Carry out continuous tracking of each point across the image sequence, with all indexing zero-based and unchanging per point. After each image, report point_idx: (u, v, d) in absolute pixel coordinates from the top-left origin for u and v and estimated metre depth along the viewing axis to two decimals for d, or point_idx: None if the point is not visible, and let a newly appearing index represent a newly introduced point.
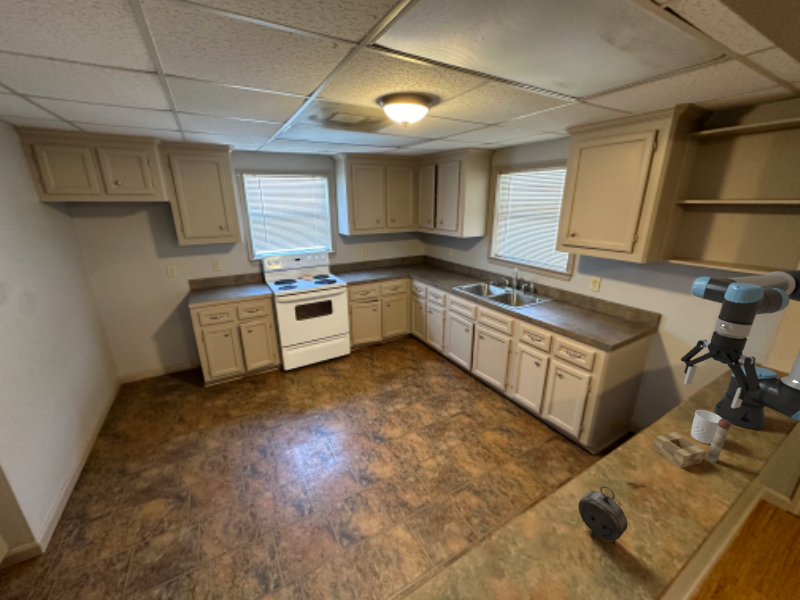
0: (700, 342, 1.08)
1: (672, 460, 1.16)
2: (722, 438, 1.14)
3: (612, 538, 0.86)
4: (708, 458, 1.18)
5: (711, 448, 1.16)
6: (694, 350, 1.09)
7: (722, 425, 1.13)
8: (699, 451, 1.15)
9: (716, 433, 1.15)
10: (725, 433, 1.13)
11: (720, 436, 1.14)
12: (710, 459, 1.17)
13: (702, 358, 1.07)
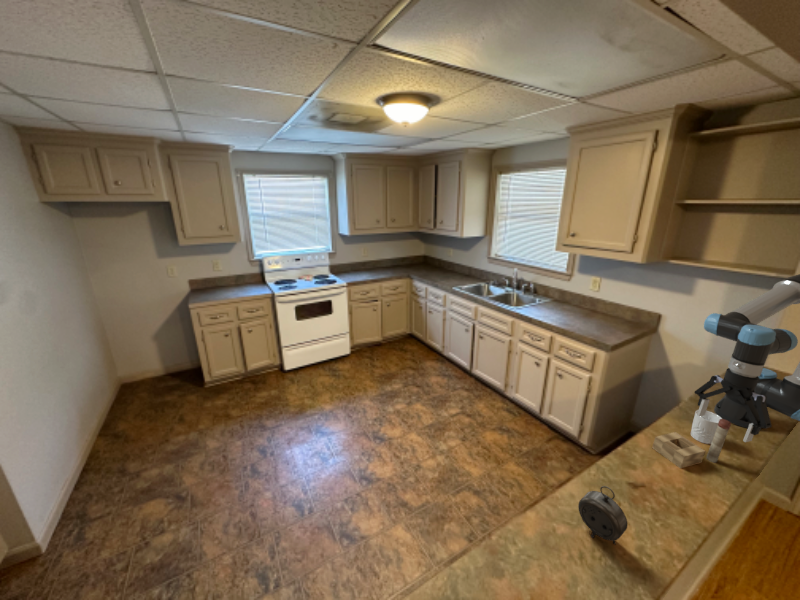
0: (714, 377, 1.14)
1: (672, 460, 1.16)
2: (722, 438, 1.14)
3: (612, 538, 0.86)
4: (708, 458, 1.18)
5: (711, 448, 1.16)
6: (708, 384, 1.16)
7: (722, 425, 1.13)
8: (699, 451, 1.15)
9: (716, 433, 1.15)
10: (725, 433, 1.13)
11: (720, 436, 1.14)
12: (710, 459, 1.17)
13: (715, 393, 1.14)
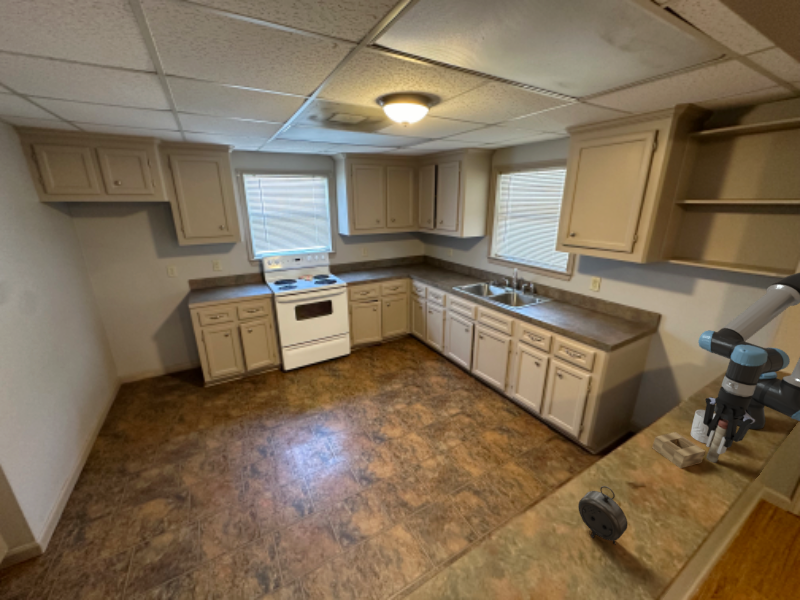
0: (707, 399, 1.17)
1: (672, 460, 1.16)
2: None
3: (612, 538, 0.86)
4: (708, 458, 1.18)
5: (711, 448, 1.16)
6: (708, 409, 1.17)
7: (722, 425, 1.13)
8: (699, 451, 1.15)
9: (716, 433, 1.15)
10: (725, 433, 1.13)
11: (720, 436, 1.14)
12: (710, 459, 1.17)
13: (717, 417, 1.14)
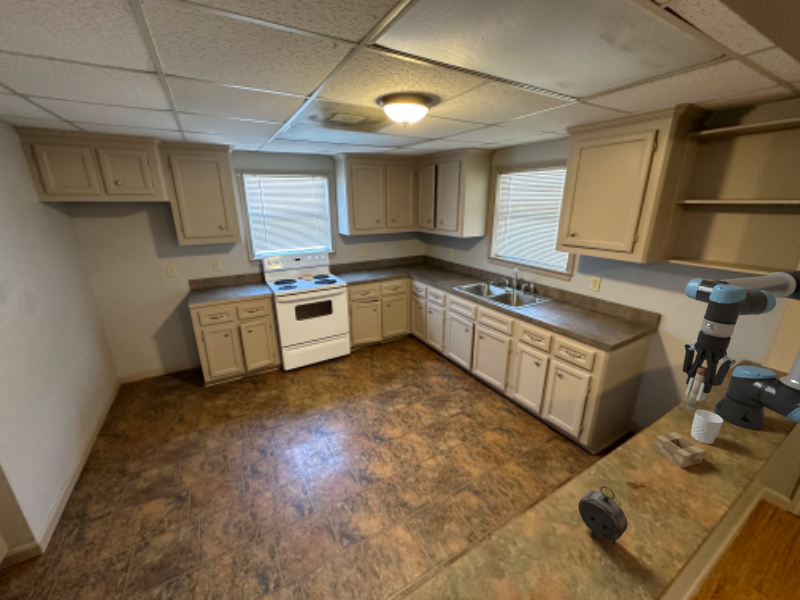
0: (687, 346, 1.13)
1: (672, 460, 1.16)
2: None
3: (612, 538, 0.86)
4: (687, 408, 1.14)
5: (690, 397, 1.13)
6: (687, 356, 1.13)
7: (700, 372, 1.09)
8: (699, 451, 1.15)
9: (695, 381, 1.11)
10: (704, 380, 1.09)
11: (698, 383, 1.10)
12: (689, 409, 1.13)
13: (696, 362, 1.10)
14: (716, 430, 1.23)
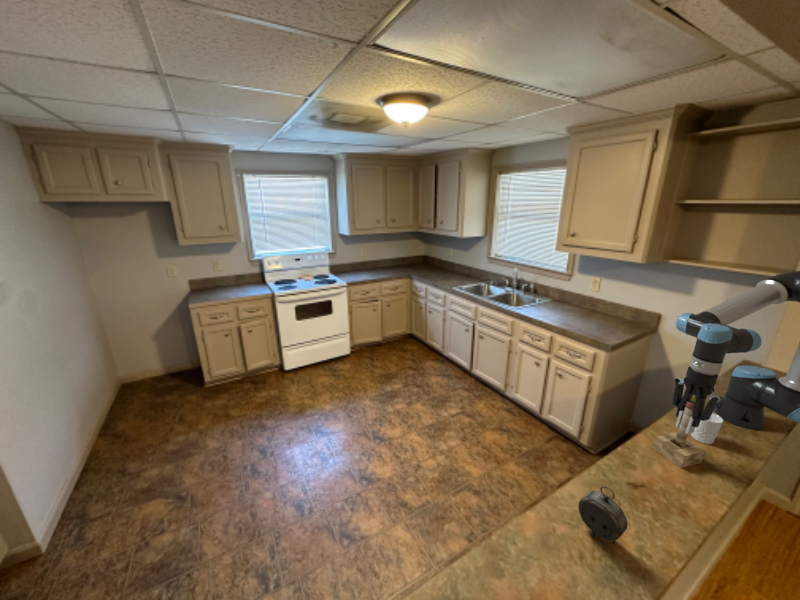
0: (676, 380, 1.17)
1: (672, 460, 1.16)
2: (689, 419, 1.14)
3: (612, 538, 0.86)
4: (676, 440, 1.18)
5: (679, 430, 1.17)
6: (677, 389, 1.17)
7: (689, 406, 1.13)
8: (699, 451, 1.15)
9: (684, 414, 1.15)
10: (693, 414, 1.13)
11: (687, 417, 1.14)
12: (678, 441, 1.17)
13: (685, 397, 1.14)
14: (716, 430, 1.23)
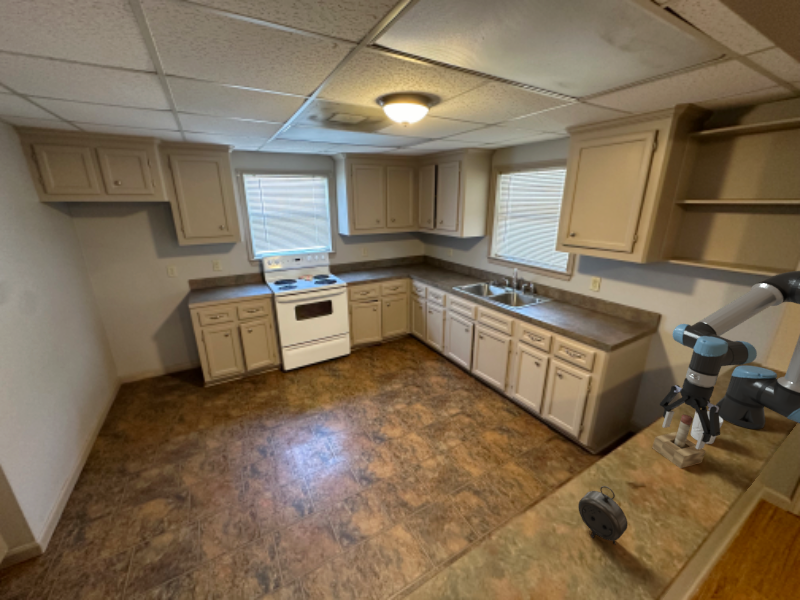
0: (673, 388, 1.18)
1: (672, 460, 1.16)
2: (685, 433, 1.16)
3: (612, 538, 0.86)
4: None
5: (675, 443, 1.18)
6: (669, 395, 1.19)
7: (684, 420, 1.15)
8: (699, 451, 1.15)
9: (679, 428, 1.17)
10: (688, 428, 1.15)
11: (683, 431, 1.16)
12: None
13: (677, 403, 1.17)
14: None
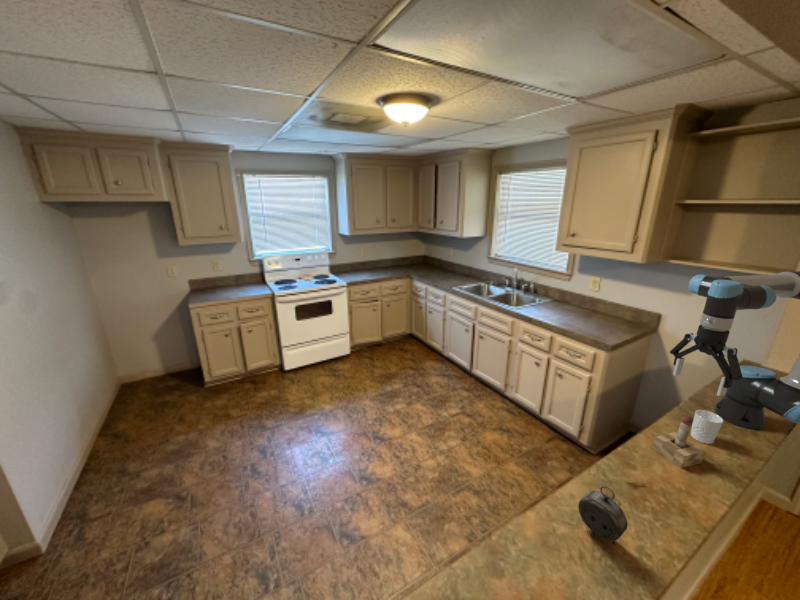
0: (687, 335, 1.15)
1: (672, 460, 1.16)
2: (685, 434, 1.15)
3: (612, 538, 0.86)
4: None
5: (675, 444, 1.18)
6: (682, 343, 1.17)
7: (685, 421, 1.15)
8: (699, 451, 1.15)
9: (680, 429, 1.17)
10: (688, 429, 1.15)
11: (683, 431, 1.16)
12: None
13: (689, 350, 1.15)
14: (716, 430, 1.23)
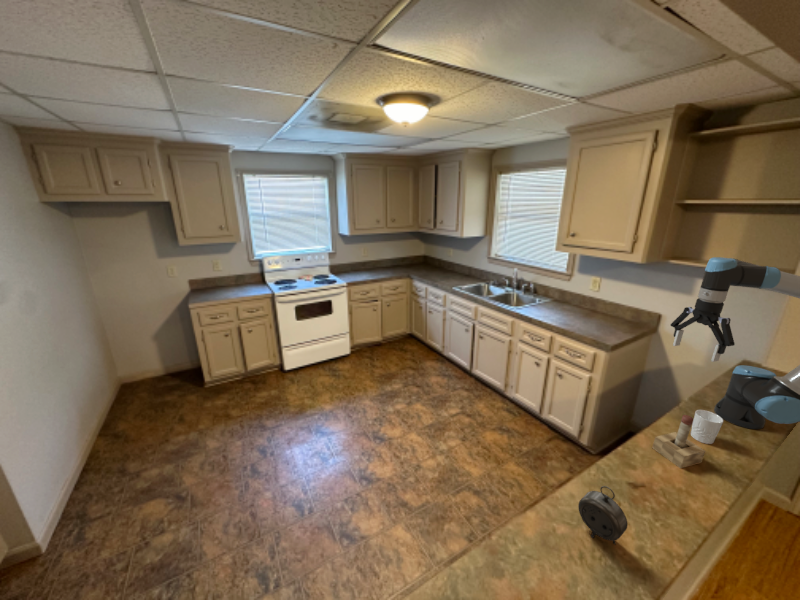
0: (686, 309, 1.28)
1: (672, 460, 1.16)
2: (685, 434, 1.15)
3: (612, 538, 0.86)
4: None
5: (675, 444, 1.18)
6: (681, 316, 1.30)
7: (685, 421, 1.15)
8: (699, 451, 1.15)
9: (680, 429, 1.17)
10: (688, 429, 1.15)
11: (683, 431, 1.16)
12: None
13: (688, 322, 1.28)
14: (716, 430, 1.23)
